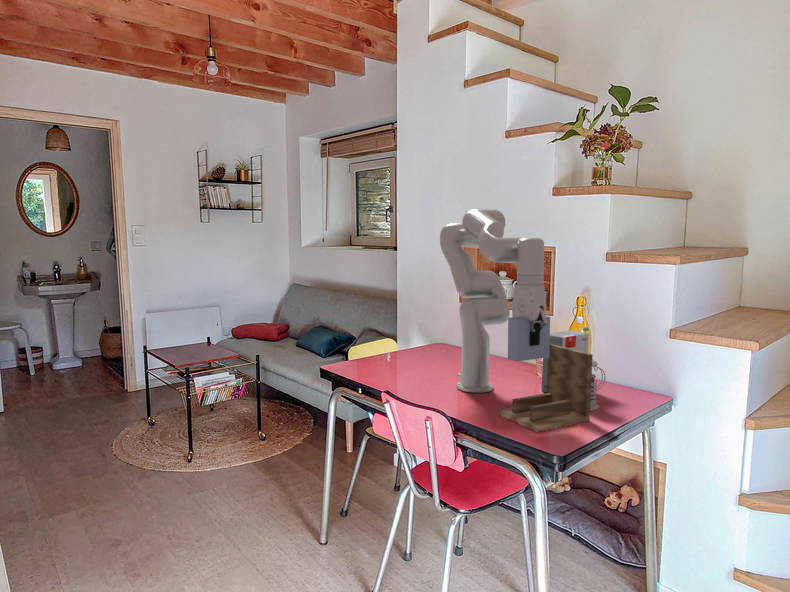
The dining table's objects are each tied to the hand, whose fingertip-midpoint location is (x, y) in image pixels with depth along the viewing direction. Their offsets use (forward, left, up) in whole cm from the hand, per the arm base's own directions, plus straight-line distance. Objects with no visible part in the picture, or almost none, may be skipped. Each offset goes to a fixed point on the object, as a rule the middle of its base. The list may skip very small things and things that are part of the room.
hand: (529, 343), depth 155 cm
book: (0, 0, -4) cm, 4 cm away
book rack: (+3, +3, -22) cm, 22 cm away
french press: (0, +23, -22) cm, 32 cm away
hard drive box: (-15, +29, -22) cm, 40 cm away
